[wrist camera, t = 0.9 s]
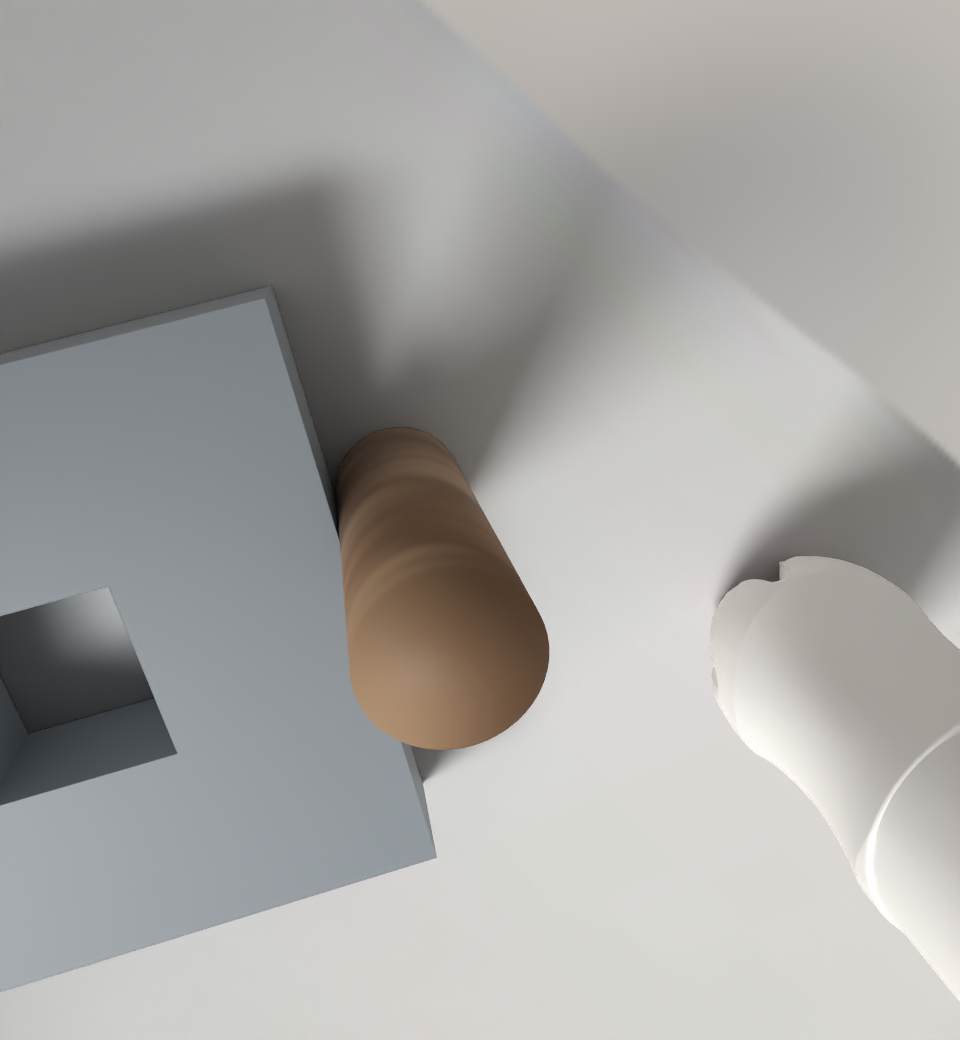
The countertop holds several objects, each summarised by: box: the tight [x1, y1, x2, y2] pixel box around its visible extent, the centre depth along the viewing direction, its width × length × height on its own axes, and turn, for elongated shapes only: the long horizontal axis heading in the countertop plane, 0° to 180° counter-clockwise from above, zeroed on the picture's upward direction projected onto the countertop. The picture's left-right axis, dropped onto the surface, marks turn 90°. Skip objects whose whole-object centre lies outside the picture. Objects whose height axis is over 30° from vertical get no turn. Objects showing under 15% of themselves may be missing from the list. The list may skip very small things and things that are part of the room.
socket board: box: [0, 285, 437, 992], centre depth 27 cm, size 18×18×4 cm
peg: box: [336, 427, 549, 750], centre depth 24 cm, size 4×4×12 cm
